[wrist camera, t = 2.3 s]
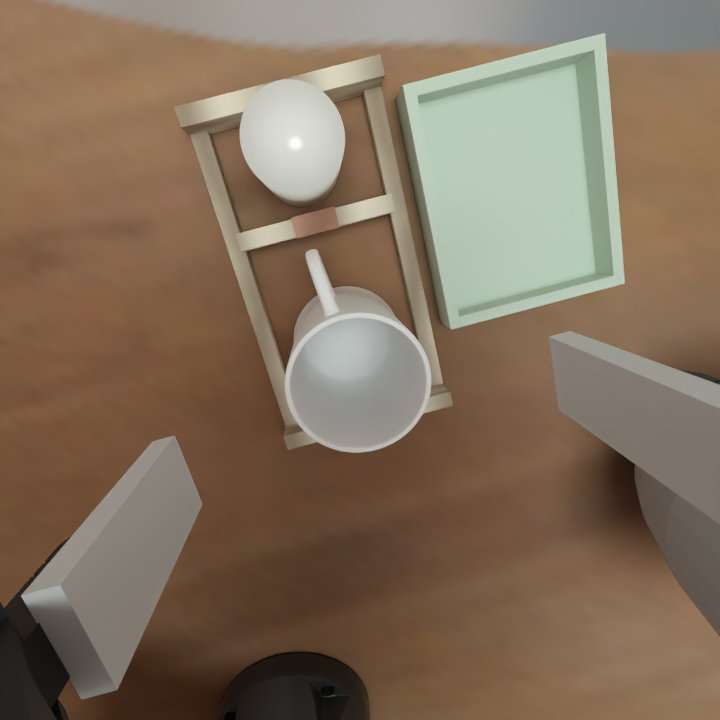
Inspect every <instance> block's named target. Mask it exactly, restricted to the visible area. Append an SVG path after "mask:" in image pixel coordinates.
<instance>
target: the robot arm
mask: <svg viewBox="0 0 720 720" xmlns="http://www.w3.org/2000/svg"><path fill="white" fill-rule="evenodd" d="M549 342H550V350H551V358H552V365H553V373H554V381H555V389H556V396H557V404H558V410H560V411H561V412H563V413H564V414H565V415H567V416H568V417H570V418H571V419H572V420H574V421H575V422H577V423H578V424H579V425H581V426H582V427H584V428H585V429H586V430H588V431H589V432H591V433H592V434H593V435H595V436H596V437H598V438H599V439H600V440H602V441H603V442H605V443H606V444H607V445H609V446H610V447H612V448H613V449H615V450H616V451H617V452H619V453H620V454H622V455H623V456H624V457H626V458H627V459H629V460H630V461H631V462H633V463H634V464H636V465H637V466H638V467H640V468H641V469H643V470H644V471H645V472H647V473H648V474H650V475H651V476H652V477H654V478H655V479H657V480H658V481H659V482H661V483H662V484H664V485H665V486H667V487H668V488H669V489H671V490H672V491H674V492H675V493H676V494H678V495H679V496H681V497H682V498H683V499H685V500H686V501H688V502H689V503H690V504H692V505H693V506H695V507H696V508H697V509H699V510H700V511H702V512H703V513H704V514H706V515H707V516H709V517H710V518H711V519H713V520H714V521H716V522H717V523H718V524H720V380H719V379H716V378H713V377H710V376H707V375H704V374H701V373H696V372H689V371H683V370H677V369H674V368H672V367H669V366H666V365H663V364H661V363H658V362H655V361H652V360H649V359H647V358H644V357H641V356H638V355H636V354H633V353H630V352H627V351H624V350H622V349H619V348H616V347H613V346H611V345H608V344H605V343H602V342H599V341H597V340H594V339H591V338H588V337H586V336H583V335H580V334H577V333H574V332H572V331H569V332H565V333H561V334H557V335H553V336H550V337H549ZM201 507H202V501H201V499H200V496H199V494H198V491H197V489H196V486H195V484H194V481H193V479H192V477H191V474H190V472H189V469H188V467H187V464H186V462H185V459H184V457H183V454H182V452H181V449H180V447H179V444H178V442H177V440H176V437H175V436H171V437H167V438H163V439H159V440H156V441H153V442H152V443H151V444H150V445H149V446H148V447H147V449H146V450H145V451H144V452H143V453H142V454H141V456H140V457H139V458H138V459H137V460H136V461H135V463H134V464H133V465H132V466H131V467H130V468H129V470H128V471H127V472H126V473H125V474H124V475H123V477H122V478H121V479H120V480H119V481H118V483H117V484H116V485H115V486H114V487H113V488H112V490H111V491H110V492H109V493H108V494H107V495H106V497H105V498H104V499H103V500H102V501H101V502H100V504H99V505H98V506H97V507H96V508H95V509H94V511H93V512H92V513H91V514H90V515H89V516H88V518H87V519H86V520H85V521H84V522H83V524H82V525H81V526H80V527H79V528H78V529H77V531H76V532H75V533H74V534H73V535H72V536H70V537H69V538H68V539H67V540H65V541H64V542H63V543H62V544H60V545H59V546H58V547H57V548H56V549H55V551H54V552H53V553H52V554H51V555H50V556H49V557H48V559H47V560H46V561H45V562H46V563H45V564H42V565H41V567H40V568H39V569H38V570H37V571H36V572H35V574H34V577H31V578H30V579H29V580H28V582H27V583H26V584H25V585H24V586H23V587H22V588H21V590H20V591H19V592H18V593H17V594H16V595H15V597H14V598H13V599H12V600H11V601H10V602H9V603H8V605H7V606H6V607H5V608H3V606H2V604H1V603H0V720H68V717H67V714H66V711H65V709H64V707H63V706H62V704H61V702H60V701H59V699H58V697H59V695H60V693H61V692H62V690H63V688H64V686H65V685H66V683H67V681H68V680H69V679H70V681H71V683H72V684H73V686H74V688H75V690H76V691H77V693H78V695H79V696H80V698H81V700H82V699H86V698H90V697H93V696H97V695H101V694H104V693H108V692H112V691H115V690H118V688H119V685H120V683H121V681H122V679H123V677H124V674H125V672H126V670H127V668H128V666H129V664H130V661H131V659H132V657H133V655H134V653H135V650H136V648H137V646H138V644H139V642H140V640H141V637H142V635H143V633H144V631H145V629H146V626H147V624H148V622H149V620H150V618H151V616H152V613H153V611H154V609H155V607H156V605H157V603H158V600H159V598H160V596H161V594H162V592H163V589H164V587H165V585H166V583H167V581H168V579H169V576H170V574H171V572H172V570H173V568H174V565H175V563H176V561H177V559H178V557H179V555H180V552H181V550H182V548H183V546H184V544H185V541H186V539H187V537H188V535H189V533H190V531H191V528H192V526H193V524H194V522H195V520H196V518H197V515H198V513H199V511H200V509H201ZM218 720H370V713H369V703H368V696H367V692H366V689H365V687H364V685H363V683H362V682H361V680H360V679H359V677H358V676H357V675H356V674H355V673H354V672H353V671H352V670H351V669H349V668H348V667H347V666H345V665H344V664H342V663H340V662H338V661H336V660H334V659H331V658H328V657H325V656H321V655H316V654H309V653H291V654H283V655H278V656H274V657H271V658H268V659H265V660H262V661H260V662H258V663H256V664H254V665H252V666H251V667H249V668H247V669H246V670H245V671H243V672H242V673H241V674H239V675H238V676H237V677H236V678H235V679H234V680H233V682H232V683H231V684H230V685H229V687H228V688H227V690H226V692H225V694H224V696H223V699H222V702H221V706H220V711H219V716H218Z"/></svg>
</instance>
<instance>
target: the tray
mask: <svg viewBox="0 0 720 720" xmlns="http://www.w3.org/2000/svg"><path fill="white" fill-rule="evenodd" d="M395 102H396V107H397V111H398V116H399V121H400V126H401V131H402V136H403V141H404V146H405V151H406V156H407V161H408V166H409V171H410V175H411V180H412V185H413V190H414V195H415V200H416V205H417V210H418V215H419V220H420V225H421V230H422V235H423V239H424V244H425V249H426V254H427V259H428V264H429V269H430V274H431V279H432V284H433V289H434V294H435V298H436V303H437V308H438V313H439V318H440V323H442V324H443V325H445V326H446V327H448V328H449V329H451V330H452V329H456V328H459V327H463V326H467V325H471V324H474V323H478V322H482V321H486V320H489V319H493V318H497V317H501V316H504V315H508V314H512V313H516V312H519V311H523V310H527V309H531V308H534V307H538V306H542V305H546V304H549V303H553V302H557V301H561V300H564V299H568V298H572V297H576V296H579V295H583V294H587V293H591V292H594V291H598V290H602V289H606V288H609V287H613V286H617V285H621V284H624V283H625V279H624V266H623V254H622V241H621V229H620V216H619V204H618V191H617V179H616V166H615V154H614V141H613V129H612V116H611V104H610V91H609V79H608V66H607V54H606V41H605V33H603V34H599V35H595V36H591V37H588V38H584V39H580V40H576V41H572V42H568V43H564V44H560V45H556V46H552V47H549V48H545V49H541V50H537V51H533V52H529V53H525V54H521V55H518V56H514V57H510V58H506V59H502V60H498V61H494V62H490V63H486V64H483V65H479V66H475V67H471V68H467V69H463V70H459V71H455V72H452V73H448V74H444V75H440V76H436V77H432V78H428V79H424V80H421V81H417V82H413V83H409V84H405V85H402V87H401V89H400V91H399V93H398V95H397V97H396V99H395Z"/></svg>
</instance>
